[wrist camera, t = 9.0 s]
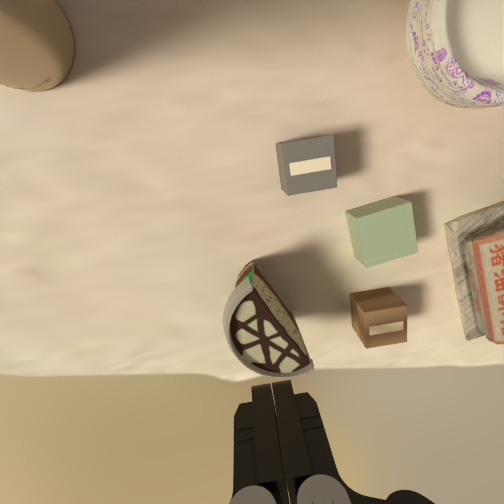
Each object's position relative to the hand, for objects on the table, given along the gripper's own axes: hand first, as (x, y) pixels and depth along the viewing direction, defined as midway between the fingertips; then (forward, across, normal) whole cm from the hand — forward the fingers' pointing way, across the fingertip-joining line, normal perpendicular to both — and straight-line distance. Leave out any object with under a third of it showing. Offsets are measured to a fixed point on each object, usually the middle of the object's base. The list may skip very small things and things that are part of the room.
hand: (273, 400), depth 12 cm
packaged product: (+28, -30, +12) cm, 43 cm away
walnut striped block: (+27, -14, +14) cm, 34 cm away
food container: (+27, +1, +10) cm, 29 cm away
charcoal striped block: (+27, -7, -6) cm, 29 cm away
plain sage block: (+27, -15, +3) cm, 31 cm away
